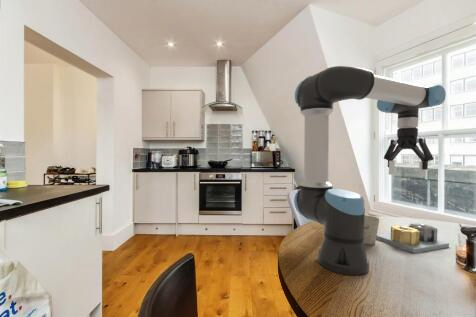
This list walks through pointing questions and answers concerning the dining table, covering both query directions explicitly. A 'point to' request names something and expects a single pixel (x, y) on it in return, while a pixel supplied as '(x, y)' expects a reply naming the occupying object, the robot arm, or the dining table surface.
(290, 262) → the dining table surface
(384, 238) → the gear board
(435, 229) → the gear
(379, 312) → the dining table surface
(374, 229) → the mug
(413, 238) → the gear
